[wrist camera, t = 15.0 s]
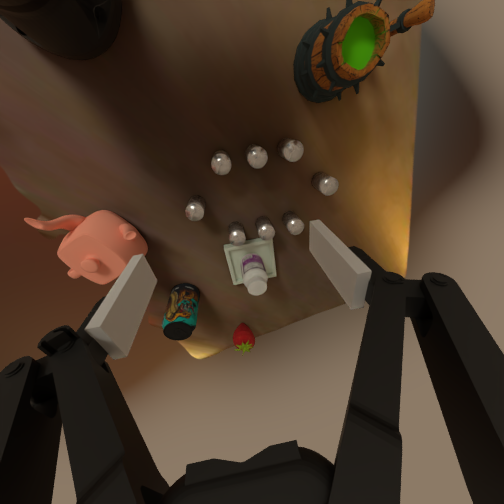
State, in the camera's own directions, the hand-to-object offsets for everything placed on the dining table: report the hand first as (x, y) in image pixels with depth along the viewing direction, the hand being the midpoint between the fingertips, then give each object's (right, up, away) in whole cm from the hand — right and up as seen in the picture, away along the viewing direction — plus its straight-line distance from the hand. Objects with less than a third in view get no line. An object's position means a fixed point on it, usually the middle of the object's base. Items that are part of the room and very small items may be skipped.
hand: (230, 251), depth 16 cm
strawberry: (-1, -22, +46) cm, 51 cm away
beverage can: (-15, -10, +36) cm, 41 cm away
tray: (+1, -2, +33) cm, 33 cm away
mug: (+14, +30, +15) cm, 36 cm away
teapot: (-25, +4, +26) cm, 36 cm away
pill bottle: (+2, -2, +33) cm, 33 cm away
